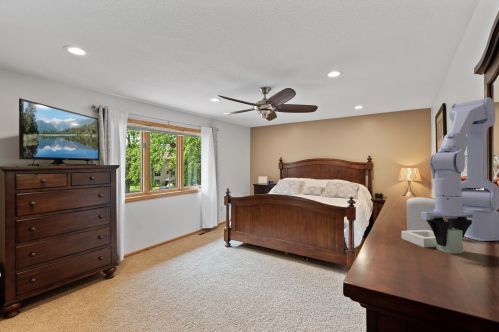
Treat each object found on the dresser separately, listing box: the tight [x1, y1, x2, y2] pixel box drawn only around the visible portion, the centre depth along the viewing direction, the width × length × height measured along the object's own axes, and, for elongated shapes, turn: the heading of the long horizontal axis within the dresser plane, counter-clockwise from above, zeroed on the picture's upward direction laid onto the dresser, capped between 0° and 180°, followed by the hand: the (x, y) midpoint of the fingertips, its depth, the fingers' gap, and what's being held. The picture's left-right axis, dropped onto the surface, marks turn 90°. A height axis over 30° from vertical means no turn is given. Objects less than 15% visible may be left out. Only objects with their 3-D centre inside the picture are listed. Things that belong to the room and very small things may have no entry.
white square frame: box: [401, 230, 436, 248], centre depth 75 cm, size 9×9×2 cm
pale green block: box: [435, 226, 464, 255], centre depth 67 cm, size 4×4×7 cm
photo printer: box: [406, 196, 440, 231], centre depth 86 cm, size 10×4×12 cm, turn 39°
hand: (449, 244), depth 67 cm, fingers closed on pale green block, 4 cm apart
